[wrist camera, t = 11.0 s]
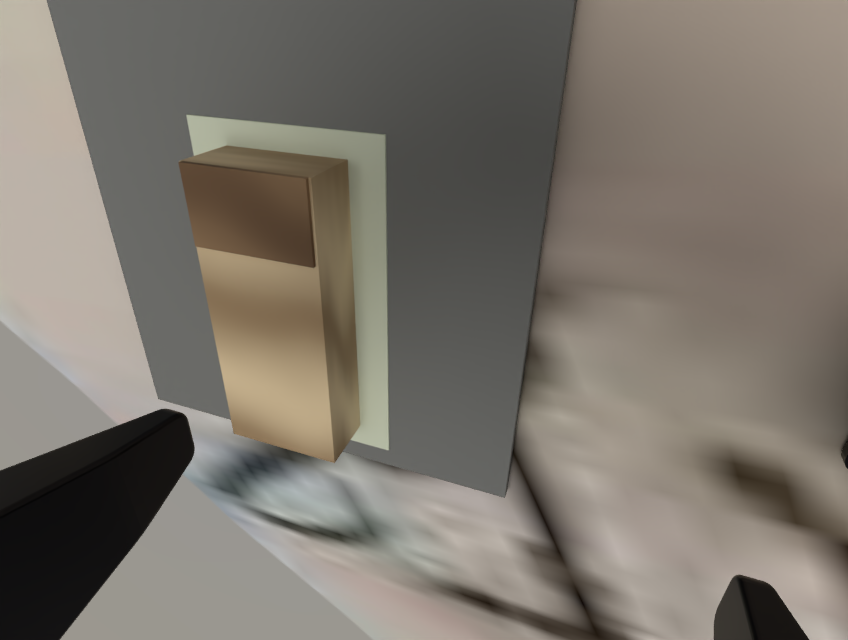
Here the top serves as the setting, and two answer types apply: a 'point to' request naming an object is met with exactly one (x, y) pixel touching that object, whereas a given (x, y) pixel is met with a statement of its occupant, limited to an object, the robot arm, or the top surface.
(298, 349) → the two-tone wooden plank
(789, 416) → the top surface
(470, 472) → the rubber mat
